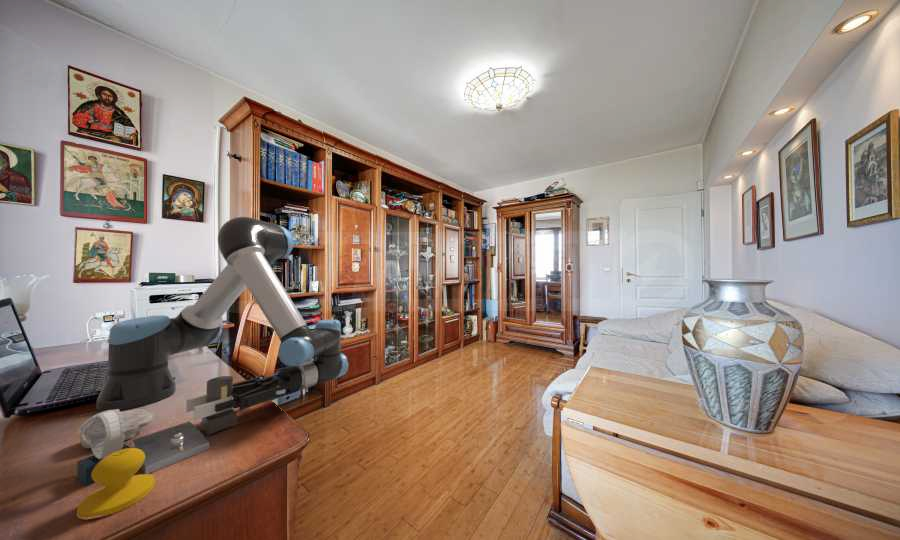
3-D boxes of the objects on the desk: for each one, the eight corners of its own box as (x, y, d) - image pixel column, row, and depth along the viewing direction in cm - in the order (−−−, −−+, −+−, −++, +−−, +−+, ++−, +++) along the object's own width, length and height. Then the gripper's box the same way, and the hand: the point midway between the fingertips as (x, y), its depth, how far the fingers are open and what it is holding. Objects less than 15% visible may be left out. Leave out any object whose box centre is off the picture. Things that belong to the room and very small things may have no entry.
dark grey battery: (201, 427, 64) (202, 380, 64) (228, 417, 68) (229, 374, 69) (208, 435, 61) (210, 385, 61) (236, 424, 65) (238, 378, 66)
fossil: (162, 416, 64) (103, 419, 55) (145, 448, 62) (80, 456, 53) (143, 406, 67) (84, 408, 59) (126, 436, 65) (62, 442, 56)
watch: (119, 456, 54) (121, 401, 54) (136, 469, 51) (138, 410, 51) (72, 475, 49) (74, 414, 49) (88, 490, 46) (90, 425, 46)
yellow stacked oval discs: (123, 516, 41) (57, 524, 40) (167, 477, 49) (113, 483, 47) (125, 466, 41) (59, 473, 40) (168, 435, 49) (115, 440, 48)
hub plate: (131, 447, 57) (132, 429, 57) (189, 427, 65) (189, 411, 65) (145, 474, 49) (146, 454, 49) (209, 448, 57) (209, 431, 57)
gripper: (313, 398, 75) (203, 441, 55) (281, 383, 85) (178, 414, 65) (314, 371, 75) (204, 404, 55) (282, 359, 85) (179, 383, 66)
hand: (190, 409), depth 60 cm, fingers closed on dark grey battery, 5 cm apart
